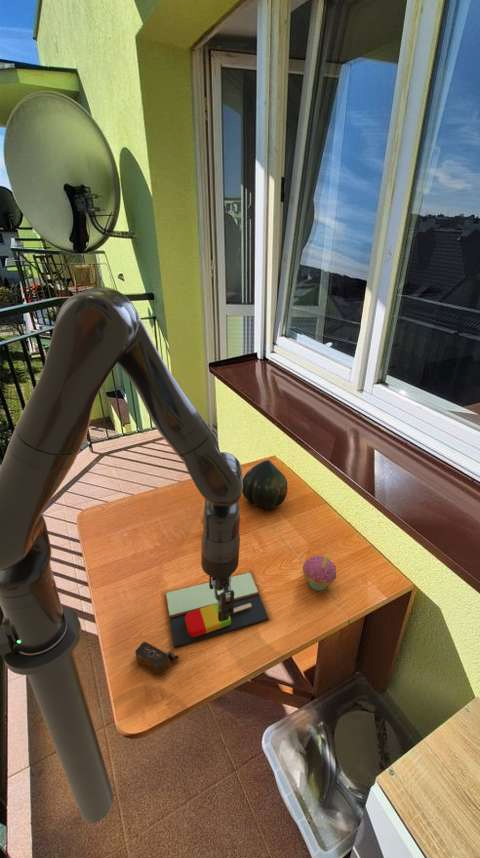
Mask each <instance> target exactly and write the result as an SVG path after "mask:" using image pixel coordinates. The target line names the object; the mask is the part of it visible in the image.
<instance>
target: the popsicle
mask: <svg viewBox="0 0 480 858" xmlns="http://www.w3.org/2000/svg"><path fill="white" fill-rule="evenodd" d="M251 606H252V605H251V603H248V604H245V605H242V606H239V607H236V608H234V613H235V612H238V611H241V610H244V609H247V608H250V607H251ZM185 623H186V627H187V631H188V634H189V635H190V637H197V636H200V635H203V634H206V633H208V632H211V631H214V630H217V629H220V628H223V627H226V626H229V625H230V624H231V618H230V616H229V619H228V620H226V621H222V622H220V621H219V620H218V603H216V604H213V605H210V606H207V607H204V608H201V609H198V610H194V611H191V612H189V613H187V614H186V616H185Z"/></svg>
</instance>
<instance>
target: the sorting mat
mask: <svg viewBox="0 0 480 858" xmlns="http://www.w3.org/2000/svg"><path fill="white" fill-rule="evenodd" d="M231 590H233V591H234V608H236V607H239V606H242V605H245V604H248V603H251V605H252V606H251V607H250V608H247V609H244V610H241V611H238V612H235V613H234V614H230V615H229V616H230V618H231V624H230V625H229V626H226V627H223V628H220V629H217V630H214V631H211V632H208V633H206V634H203V635H200V636H197V637H190V635H189V634H188V631H187V627H186V623H185V616H186V614H187V613H189V612H191V611H194V610H198V609H201V608H204V607H207V606H210V605H213V604H216V603H218V602H217V600H216V599H215V597H214V589H210V587H209V582H205V583H201V584H197V585H193V586H188V587H183V588H181V589H176V590H173V591H169V592H165V597H166V603H167V609H168V615H169V616H168V617H169V622H170V628H171V635H172V643H173V648H174V649H176V648H179V647H183V646H185V645H189V644H193V643H196V642H199V641H203V640H207V639H210V638H213V637H216V636H220V635H222V634H226V633H229V632H232V631H236V630H239V629H242V628H246V627H250V626H252V625H257V624H259V623H262V622H266V621H269V620H270V618H269V615H268V613H267V610H266V608H265V605H264V603H263V601H262V597H261V596H260V591H258V588H257V586H256V583H255V581H254V578H253V575H252V573H251V572H246V573H242V574H237V575H234V576H231ZM222 592H223V590H221V591H218V590H217V593H218V594H221V593H222Z"/></svg>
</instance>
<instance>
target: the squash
mask: <svg viewBox="0 0 480 858" xmlns="http://www.w3.org/2000/svg"><path fill="white" fill-rule="evenodd" d="M242 478H243V492H242V495H243V497H244V498H245V499H246V500H247V502H248V504H249V505H252V506H254V505H255V506H256V507H263V509H264V510H266V511H272V510H273V509H274V508H275V507H278V506H281V505H282V504H283V503H284V501H285V499H286V497H287V494H288V480H287V477H286V476H285V475H284V474H283V473H282V471H281V470H280V469H279V468H278V467H277V466H276V465H275V464H274V463H273V461H271V460H270V459H267V460H263V461H261V462H259V463H257V464H256V465H253V466H252V467H251V468H250V469H248V471H247V472H245V474H244V476H243V477H242Z"/></svg>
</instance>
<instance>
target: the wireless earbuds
mask: <svg viewBox="0 0 480 858" xmlns="http://www.w3.org/2000/svg"><path fill="white" fill-rule="evenodd" d="M134 653H135V660H136V663H137V664H139V665H141V666H142V667H144V668H146V669H148V670H149V671H151V672H152V673H154V674H155V675H157V676H162V675H163V674H164V672H165V671H166V670H167V668H169V661H170V663H173V662H175V661H177V660H178V659H179V658H180V657H179V655H178V654H175V653H174V652H172V651H169V652H168V653H167V652H165V651H163V650H161V649H159V648H157V647H155V646H154V645H152V644H151V643H148V642H147V641H143V642H142V643H140V645H139V646H138V647H137V649H135V651H134Z"/></svg>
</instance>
